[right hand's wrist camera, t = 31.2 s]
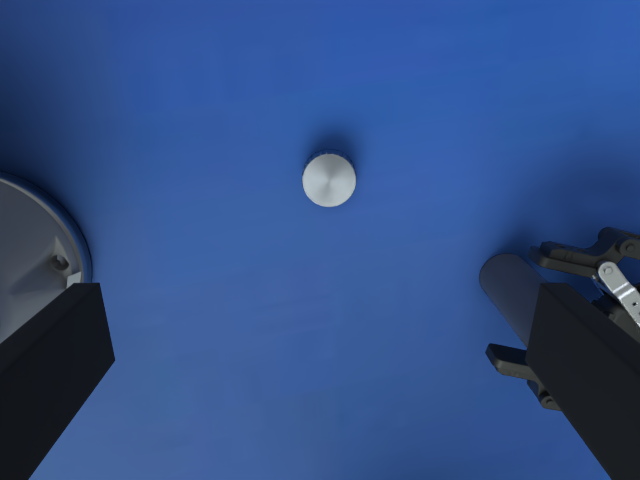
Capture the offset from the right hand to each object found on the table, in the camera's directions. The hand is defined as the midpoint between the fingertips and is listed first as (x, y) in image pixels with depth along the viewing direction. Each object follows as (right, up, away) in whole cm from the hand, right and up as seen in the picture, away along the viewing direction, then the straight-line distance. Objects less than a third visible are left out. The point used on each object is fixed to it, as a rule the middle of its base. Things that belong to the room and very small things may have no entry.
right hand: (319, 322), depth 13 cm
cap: (+1, +7, +19) cm, 20 cm away
